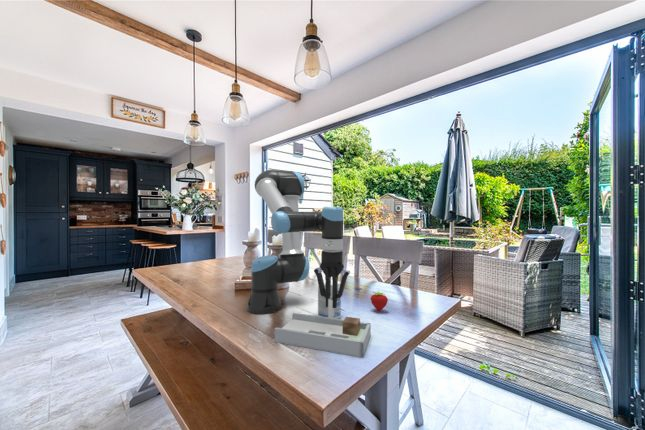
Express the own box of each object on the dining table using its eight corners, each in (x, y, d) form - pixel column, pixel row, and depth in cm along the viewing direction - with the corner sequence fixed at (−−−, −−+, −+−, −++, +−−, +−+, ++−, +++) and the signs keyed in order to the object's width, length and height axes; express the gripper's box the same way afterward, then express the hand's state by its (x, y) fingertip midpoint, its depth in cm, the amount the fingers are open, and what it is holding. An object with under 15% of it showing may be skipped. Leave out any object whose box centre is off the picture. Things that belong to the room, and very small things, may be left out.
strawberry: (386, 315, 115) (386, 291, 115) (368, 312, 118) (368, 289, 118) (389, 310, 120) (389, 288, 120) (372, 308, 124) (372, 286, 123)
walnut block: (342, 333, 92) (342, 322, 92) (346, 327, 96) (346, 316, 96) (357, 335, 90) (357, 324, 90) (359, 329, 95) (359, 318, 95)
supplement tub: (337, 322, 107) (337, 285, 107) (314, 319, 110) (315, 283, 110) (343, 314, 116) (343, 280, 116) (322, 311, 119) (322, 278, 119)
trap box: (274, 341, 91) (274, 328, 91) (293, 324, 105) (293, 312, 105) (363, 357, 81) (363, 342, 81) (370, 335, 96) (370, 323, 96)
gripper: (311, 250, 94) (310, 317, 94) (347, 253, 90) (346, 323, 90) (318, 247, 101) (317, 310, 101) (352, 250, 97) (351, 315, 97)
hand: (331, 316), depth 96 cm, fingers closed
